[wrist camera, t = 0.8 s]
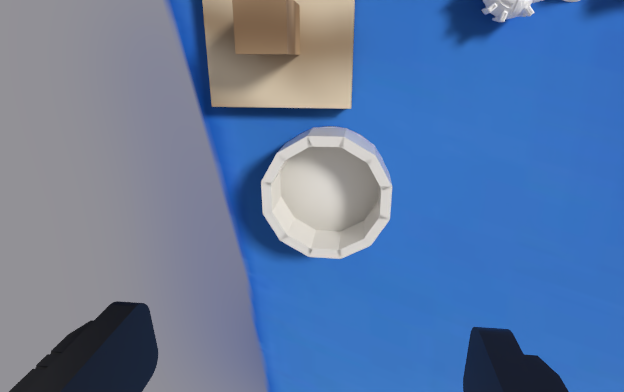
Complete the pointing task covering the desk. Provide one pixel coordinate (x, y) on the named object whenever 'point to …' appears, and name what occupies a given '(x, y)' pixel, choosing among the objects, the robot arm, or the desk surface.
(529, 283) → the desk surface
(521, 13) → the game pieces
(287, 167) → the bowl
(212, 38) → the lid
